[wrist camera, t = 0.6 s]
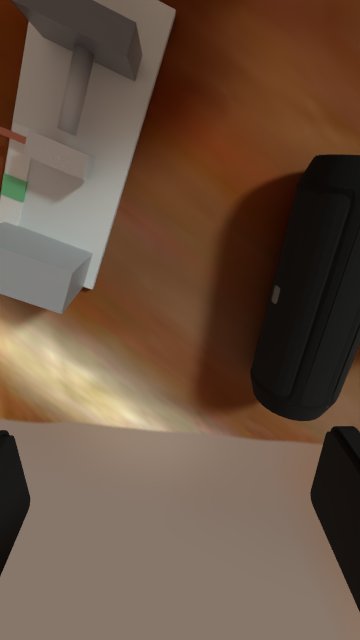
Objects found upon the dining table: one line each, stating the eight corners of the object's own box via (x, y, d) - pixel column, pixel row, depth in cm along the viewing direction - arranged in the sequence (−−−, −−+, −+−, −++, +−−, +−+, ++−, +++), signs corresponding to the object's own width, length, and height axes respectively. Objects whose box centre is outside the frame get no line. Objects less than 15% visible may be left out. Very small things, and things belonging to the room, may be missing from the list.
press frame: (46, -54, 25) (-13, -168, 17) (175, 15, 27) (179, -58, 19) (-5, 252, 34) (-59, 274, 26) (94, 286, 36) (72, 317, 28)
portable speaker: (288, 157, 32) (336, 148, 23) (380, 171, 33) (462, 167, 24) (238, 371, 42) (258, 423, 33) (309, 377, 43) (348, 430, 34)
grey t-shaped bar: (48, 8, 25) (15, -40, 20) (142, 55, 27) (136, 22, 21) (28, 116, 28) (-5, 100, 23) (114, 153, 30) (103, 147, 24)
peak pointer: (-5, 115, 28) (-24, 107, 25) (95, 157, 29) (88, 155, 27) (-8, 139, 28) (-27, 134, 26) (89, 179, 30) (82, 179, 27)
